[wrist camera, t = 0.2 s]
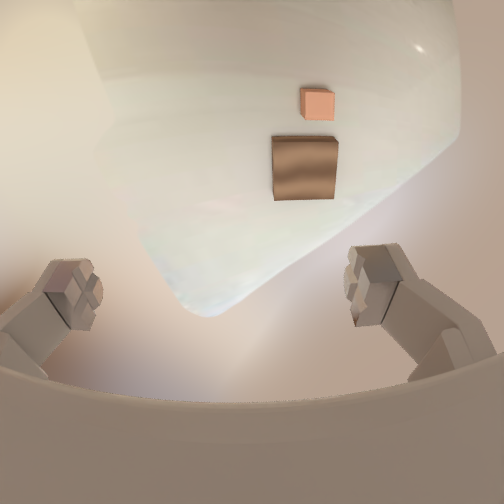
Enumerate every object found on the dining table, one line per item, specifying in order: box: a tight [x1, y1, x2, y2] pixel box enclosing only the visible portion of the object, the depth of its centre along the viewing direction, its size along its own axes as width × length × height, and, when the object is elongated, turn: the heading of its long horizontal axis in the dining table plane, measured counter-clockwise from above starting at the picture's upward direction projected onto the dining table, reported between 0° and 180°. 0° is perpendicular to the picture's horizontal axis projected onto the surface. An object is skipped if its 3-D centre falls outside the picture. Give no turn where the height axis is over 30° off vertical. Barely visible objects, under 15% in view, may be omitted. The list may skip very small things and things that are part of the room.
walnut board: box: [272, 136, 339, 201], centre depth 54 cm, size 12×12×4 cm
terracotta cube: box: [300, 89, 335, 121], centre depth 45 cm, size 5×5×5 cm
